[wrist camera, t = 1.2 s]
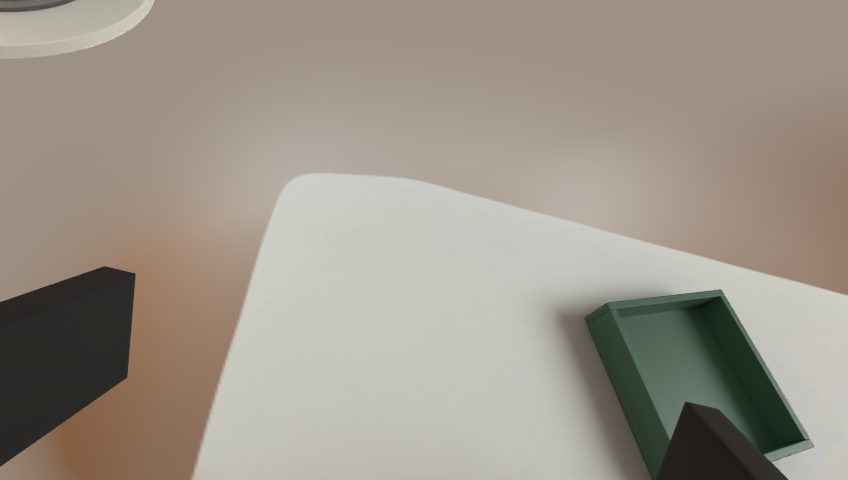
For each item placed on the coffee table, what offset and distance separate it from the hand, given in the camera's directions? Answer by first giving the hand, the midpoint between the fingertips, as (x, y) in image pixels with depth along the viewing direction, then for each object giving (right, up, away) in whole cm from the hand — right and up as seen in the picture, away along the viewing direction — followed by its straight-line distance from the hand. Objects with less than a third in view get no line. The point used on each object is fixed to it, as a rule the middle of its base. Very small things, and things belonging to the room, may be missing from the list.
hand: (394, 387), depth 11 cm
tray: (+22, -8, +27) cm, 36 cm away
